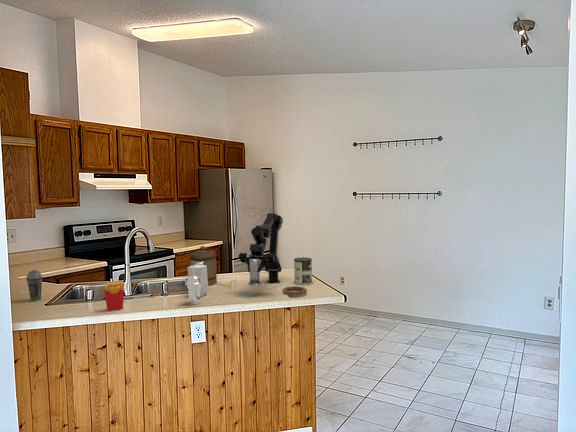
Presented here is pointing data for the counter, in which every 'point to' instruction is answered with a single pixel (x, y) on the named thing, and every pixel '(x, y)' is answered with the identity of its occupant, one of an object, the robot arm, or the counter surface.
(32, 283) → the beverage cup
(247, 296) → the stand
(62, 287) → the counter surface
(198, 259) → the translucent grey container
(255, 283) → the sleeve
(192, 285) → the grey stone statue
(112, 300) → the french fries
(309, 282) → the coffee can
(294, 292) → the brown shallow round dish
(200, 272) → the skincare box
